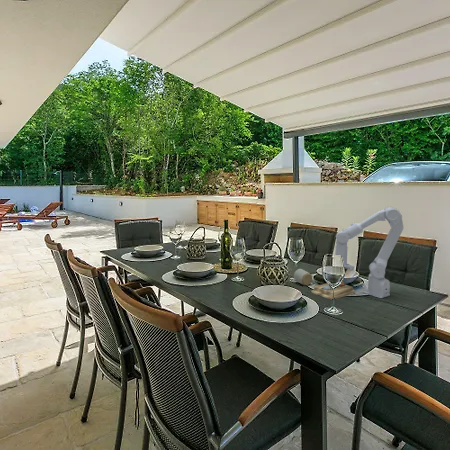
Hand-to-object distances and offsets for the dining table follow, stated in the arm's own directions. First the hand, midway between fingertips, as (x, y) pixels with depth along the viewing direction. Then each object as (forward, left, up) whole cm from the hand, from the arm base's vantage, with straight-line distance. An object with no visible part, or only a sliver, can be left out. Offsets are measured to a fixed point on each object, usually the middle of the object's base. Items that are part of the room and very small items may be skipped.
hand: (340, 280), depth 170 cm
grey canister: (+19, +6, -6) cm, 20 cm away
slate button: (0, +10, -4) cm, 11 cm away
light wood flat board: (0, +5, -5) cm, 7 cm away
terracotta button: (0, 0, -3) cm, 3 cm away
